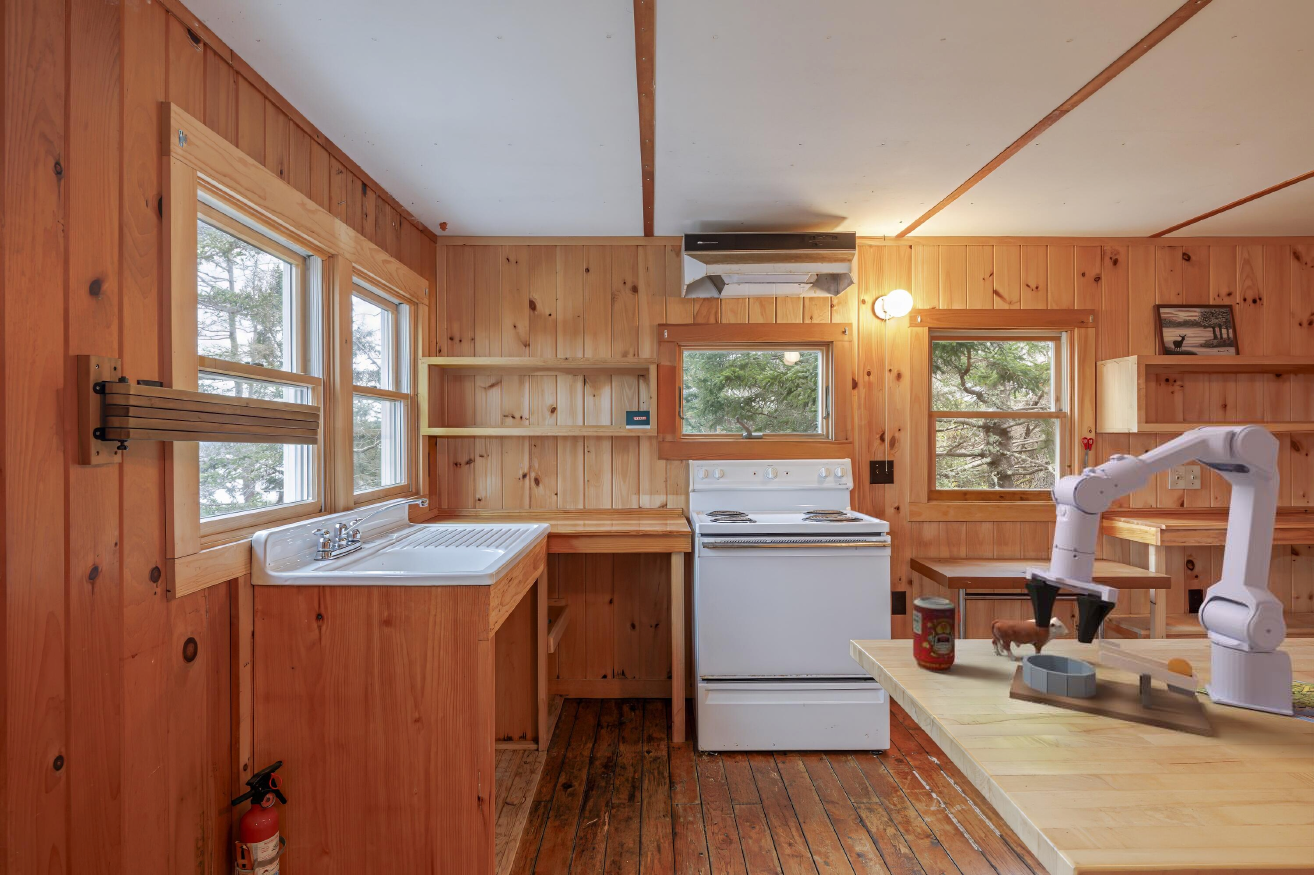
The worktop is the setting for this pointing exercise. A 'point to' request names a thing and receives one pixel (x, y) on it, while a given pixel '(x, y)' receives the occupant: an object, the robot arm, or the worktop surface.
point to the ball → (1180, 667)
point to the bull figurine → (1024, 634)
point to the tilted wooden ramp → (1147, 668)
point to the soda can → (934, 633)
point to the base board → (1126, 703)
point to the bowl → (1059, 675)
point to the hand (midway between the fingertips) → (1062, 634)
